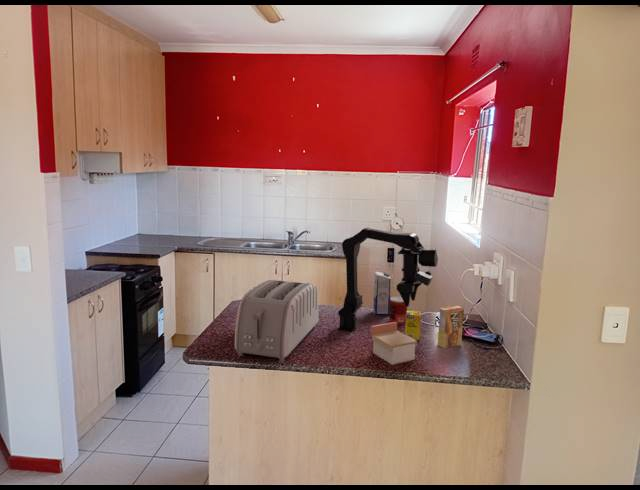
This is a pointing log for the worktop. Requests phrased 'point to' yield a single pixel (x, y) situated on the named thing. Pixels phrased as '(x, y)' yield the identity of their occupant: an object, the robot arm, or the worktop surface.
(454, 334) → the candy box
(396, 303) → the canned food
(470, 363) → the worktop surface
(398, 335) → the lid
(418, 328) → the supplement box
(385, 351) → the mailer tray
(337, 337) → the worktop surface
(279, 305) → the toaster
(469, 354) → the worktop surface
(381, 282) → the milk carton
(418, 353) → the worktop surface
